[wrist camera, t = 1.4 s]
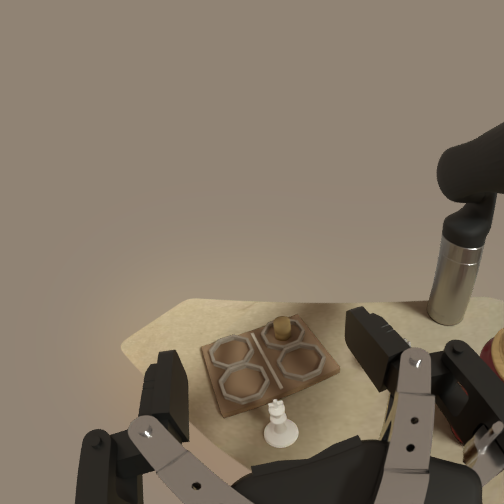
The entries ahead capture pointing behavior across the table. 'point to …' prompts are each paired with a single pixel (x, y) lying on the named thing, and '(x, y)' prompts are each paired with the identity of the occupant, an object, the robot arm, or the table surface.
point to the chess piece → (280, 427)
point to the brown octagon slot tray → (266, 364)
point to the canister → (492, 359)
